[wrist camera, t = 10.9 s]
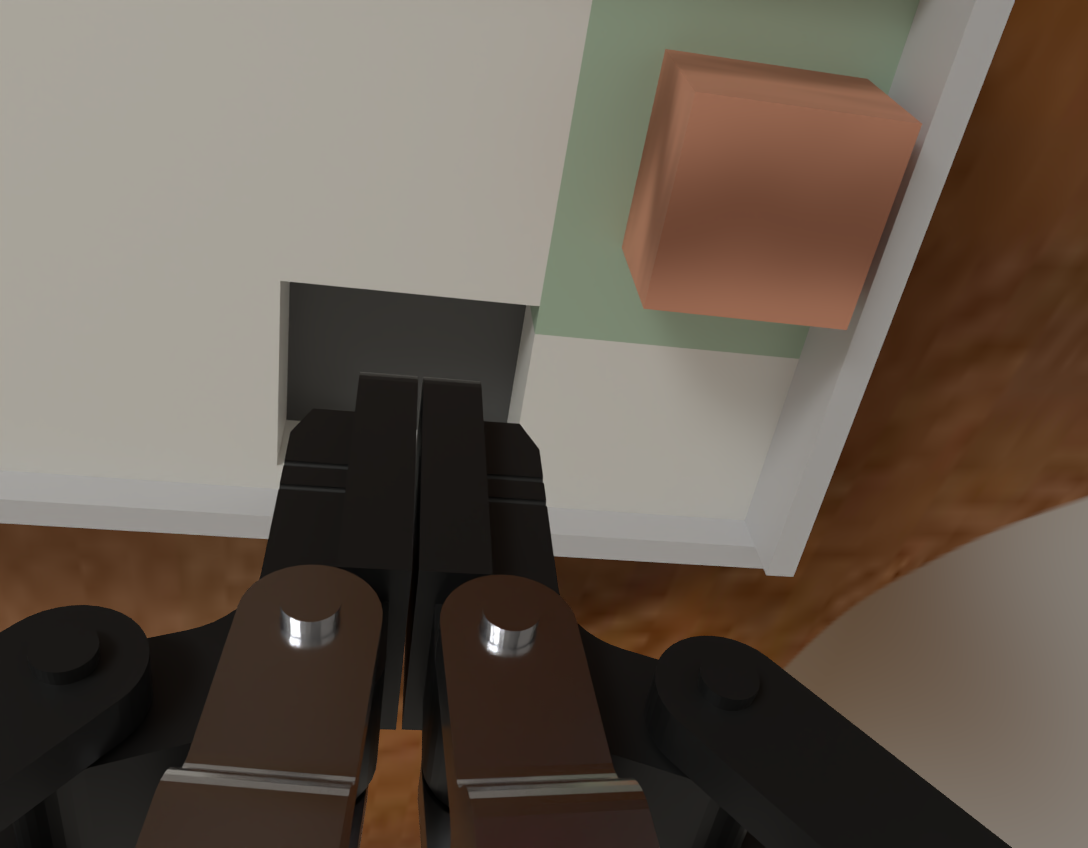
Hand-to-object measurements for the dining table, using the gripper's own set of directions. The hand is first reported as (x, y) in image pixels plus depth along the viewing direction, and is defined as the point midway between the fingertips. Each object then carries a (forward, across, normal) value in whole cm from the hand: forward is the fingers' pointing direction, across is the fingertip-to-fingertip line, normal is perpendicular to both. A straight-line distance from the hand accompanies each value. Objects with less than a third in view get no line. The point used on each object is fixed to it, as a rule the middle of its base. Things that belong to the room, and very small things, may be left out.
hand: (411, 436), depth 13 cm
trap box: (+21, +3, +6) cm, 22 cm away
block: (+18, -10, +2) cm, 21 cm away
